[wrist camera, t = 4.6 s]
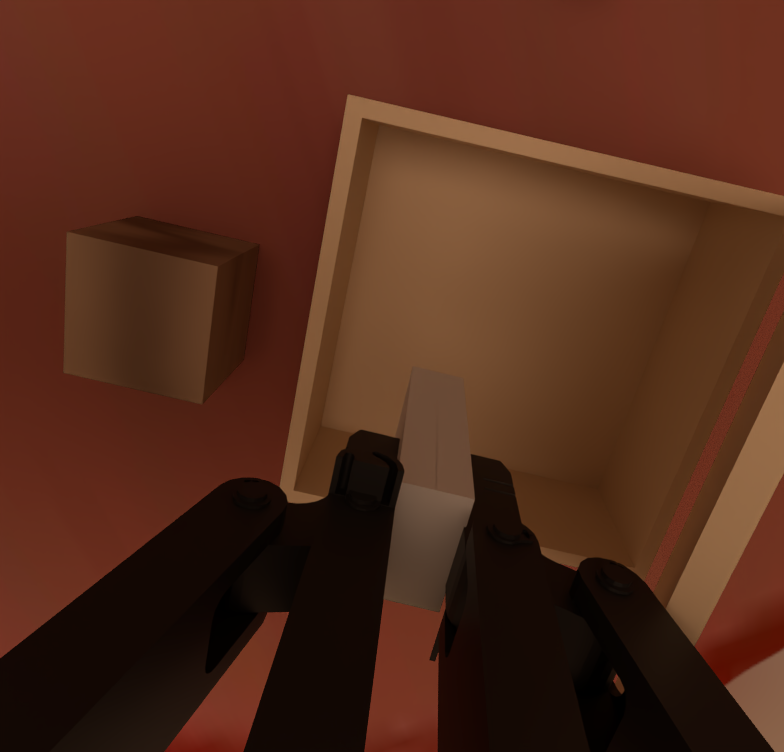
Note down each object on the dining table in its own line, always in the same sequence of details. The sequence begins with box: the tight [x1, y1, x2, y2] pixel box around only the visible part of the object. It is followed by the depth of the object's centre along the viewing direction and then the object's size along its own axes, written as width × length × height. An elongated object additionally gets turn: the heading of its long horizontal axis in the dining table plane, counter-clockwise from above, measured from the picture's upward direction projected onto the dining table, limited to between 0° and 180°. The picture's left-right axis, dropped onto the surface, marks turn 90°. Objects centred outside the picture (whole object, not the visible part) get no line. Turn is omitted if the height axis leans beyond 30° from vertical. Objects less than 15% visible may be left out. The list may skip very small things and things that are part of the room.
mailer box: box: [280, 94, 784, 581], centre depth 26 cm, size 16×16×7 cm
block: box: [63, 216, 260, 404], centre depth 28 cm, size 6×6×6 cm
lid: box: [615, 312, 784, 694], centre depth 17 cm, size 15×16×1 cm
